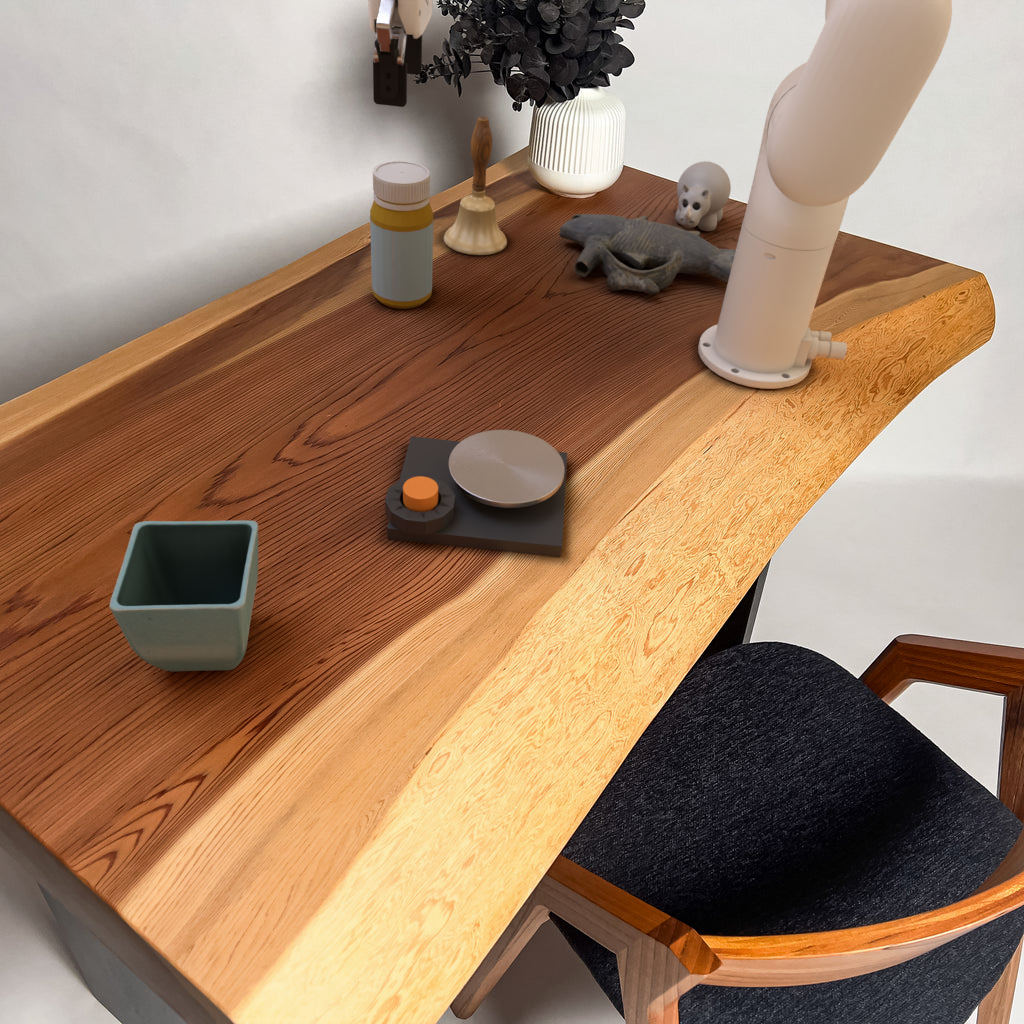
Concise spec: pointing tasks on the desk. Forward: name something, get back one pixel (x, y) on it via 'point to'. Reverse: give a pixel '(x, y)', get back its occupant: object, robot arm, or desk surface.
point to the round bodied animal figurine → (702, 195)
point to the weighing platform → (506, 468)
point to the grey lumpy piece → (642, 251)
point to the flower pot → (188, 593)
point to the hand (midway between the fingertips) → (398, 87)
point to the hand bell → (477, 204)
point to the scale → (470, 510)
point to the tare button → (420, 494)
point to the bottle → (401, 234)
